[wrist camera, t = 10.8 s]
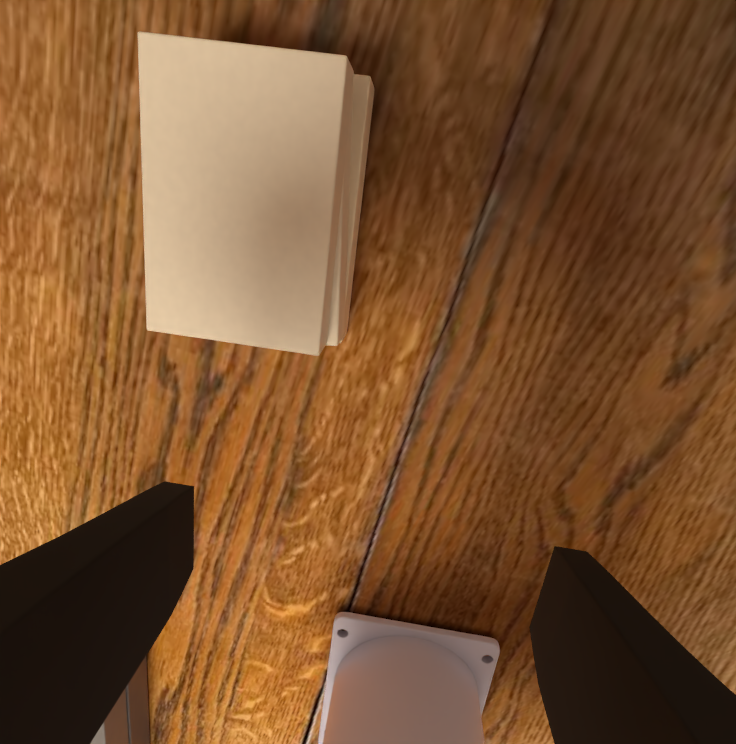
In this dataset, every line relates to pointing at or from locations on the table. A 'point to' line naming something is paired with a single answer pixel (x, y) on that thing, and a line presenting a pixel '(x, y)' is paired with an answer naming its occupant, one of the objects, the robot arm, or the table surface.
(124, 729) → the grey books
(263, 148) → the cream rectangular slab
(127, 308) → the table surface
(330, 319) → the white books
